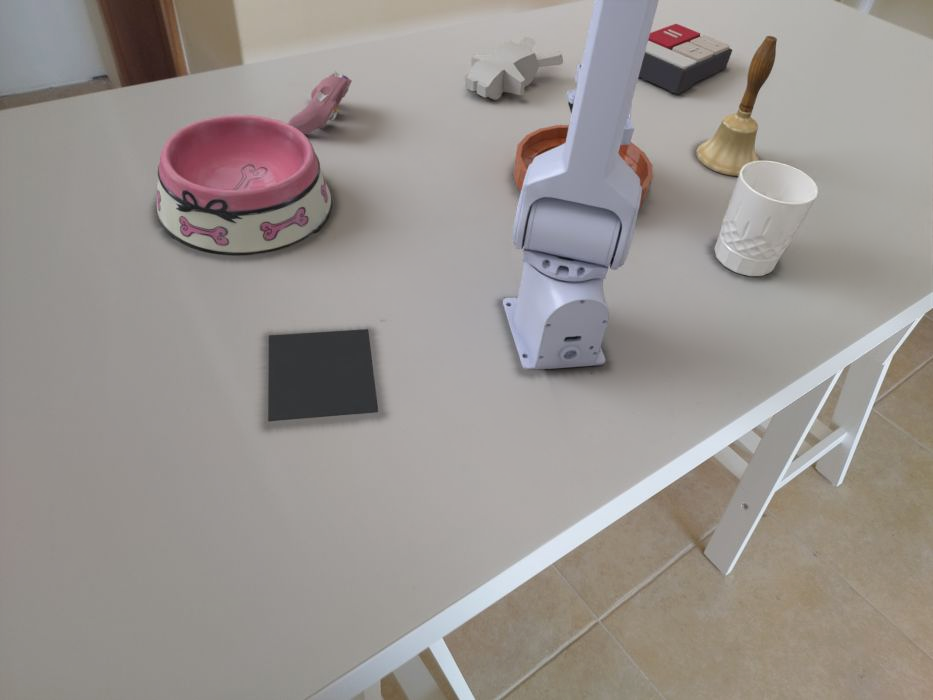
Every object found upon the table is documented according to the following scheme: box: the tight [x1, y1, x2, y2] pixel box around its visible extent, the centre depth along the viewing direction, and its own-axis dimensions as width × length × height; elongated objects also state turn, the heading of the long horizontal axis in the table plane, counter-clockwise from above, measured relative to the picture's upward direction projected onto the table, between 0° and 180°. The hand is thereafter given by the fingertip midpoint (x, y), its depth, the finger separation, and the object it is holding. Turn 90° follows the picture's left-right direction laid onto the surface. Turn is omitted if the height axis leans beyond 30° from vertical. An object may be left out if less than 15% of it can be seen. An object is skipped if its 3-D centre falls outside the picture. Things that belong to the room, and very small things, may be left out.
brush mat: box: [267, 328, 379, 422], centre depth 65 cm, size 10×9×1 cm
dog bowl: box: [156, 114, 333, 257], centre depth 79 cm, size 18×19×7 cm
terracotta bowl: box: [512, 124, 654, 209], centre depth 88 cm, size 16×16×4 cm
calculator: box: [638, 23, 733, 95], centre depth 113 cm, size 11×4×15 cm
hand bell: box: [695, 35, 778, 177], centre depth 91 cm, size 8×8×16 cm
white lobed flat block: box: [464, 36, 564, 101], centre depth 105 cm, size 10×5×15 cm
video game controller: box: [287, 71, 353, 135], centre depth 93 cm, size 10×5×7 cm, turn 168°
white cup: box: [713, 159, 819, 277], centre depth 79 cm, size 8×8×10 cm
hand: (586, 167), depth 87 cm, fingers closed on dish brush, 2 cm apart
